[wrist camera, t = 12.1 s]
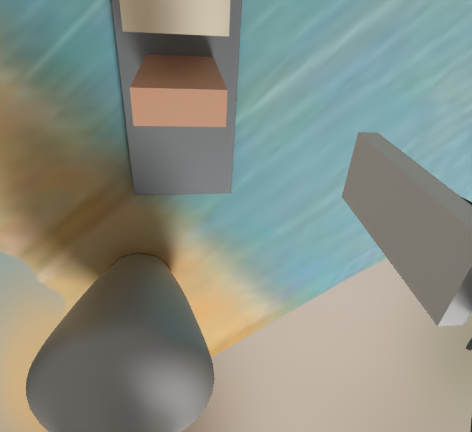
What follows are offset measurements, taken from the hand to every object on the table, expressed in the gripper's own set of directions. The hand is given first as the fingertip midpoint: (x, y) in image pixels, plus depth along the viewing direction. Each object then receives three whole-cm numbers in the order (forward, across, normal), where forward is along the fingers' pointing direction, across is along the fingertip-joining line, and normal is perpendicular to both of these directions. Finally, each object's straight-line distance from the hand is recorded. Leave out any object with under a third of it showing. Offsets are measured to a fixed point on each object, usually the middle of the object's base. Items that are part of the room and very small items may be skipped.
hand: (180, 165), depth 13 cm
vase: (+18, +5, +22) cm, 29 cm away
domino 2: (+17, 0, 0) cm, 17 cm away
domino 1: (+17, 0, -4) cm, 18 cm away
